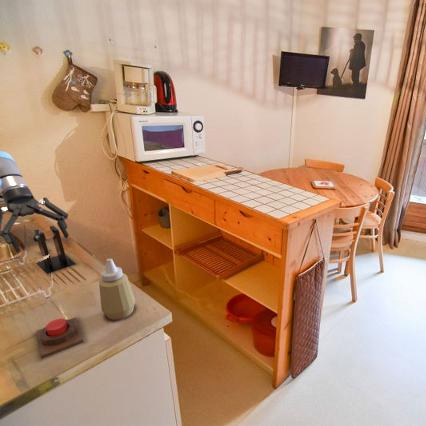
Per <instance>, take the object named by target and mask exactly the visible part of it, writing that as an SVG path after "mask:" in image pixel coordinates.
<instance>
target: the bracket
mask: <svg viewBox="0 0 426 426" xmlns="http://www.w3.org/2000/svg"><path fill="white" fill-rule="evenodd" d="M49 230H52V232H53V235H54V237H53V238H52V240H53V243H54V247H55V251H56V254H57V255H56V256H53V257H51V256H49V258H47V259H45V260H43V259H42V260H40V261H41V262H40V261H37V262H38V263H37V262H35V264H36V265H37V266H38V267H39V268H40V269H41V270H42V271H43V272H44V273H45V274H46V275H49V274H52V273H55V272H58V271H60V270H63V269H66V268H67V269H68V268H69V267H72V266H75V265H77V263H76V262H74V261H73V260H72V259H71V258H70V257H69V256H67V255H66V252H65V248H64V244H63V241H62V238H61V233H60V229H58V228H57V227H56V226H54V225H50V226H49ZM33 231H34V235H36V236H35V237H36V240H37V241H38V243H37V244H38V247H39V248H38V249H39V250H40V251H39V252H40V255H41V257H42V256H46V255H48V254H49V255H50V252H49V249H48V245H47V241H45V238H44V235H43V233H42V231H41V230H39V229H35V230H33Z"/></svg>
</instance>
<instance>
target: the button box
mask: <svg viewBox="0 0 426 426" xmlns="http://www.w3.org/2000/svg"><path fill="white" fill-rule="evenodd" d="M65 320H66V321H67V324H68V330H67V331H65V332H64V333H62V334H60V335H57V336H49V335H48V334H47V331H46V326H45V327H43V328H41V329H38V330H36V335H37V336H36V337H37V341H38V348H39V353H40V358H41V359H44V358H48V357H50V356H52V355H54V354H57V353H60V352H62V351H65V350H67V349H69V348H72V347H75V346H77V345H80V344H82V343H84V339H83V335H82V331H81V330H80V326H79V322H78V320H77V317H76V316H75V317H72V318H70V319H69V318H68V319H65Z"/></svg>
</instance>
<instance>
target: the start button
mask: <svg viewBox="0 0 426 426" xmlns="http://www.w3.org/2000/svg"><path fill="white" fill-rule="evenodd" d="M66 320H67V319H65V318H56V319H54V320H51V321H50V322H48V323H46V325H45V327H46V331H47V334H48V335H49V336H57V335H60V334H62V333H64V332H65V331H67V330H68V324H67V321H66Z"/></svg>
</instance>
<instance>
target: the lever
mask: <svg viewBox="0 0 426 426" xmlns="http://www.w3.org/2000/svg"><path fill="white" fill-rule="evenodd" d="M41 232H42V231H41ZM42 233H43V235H44V238H45V242H47V240H49V239H53V237H54V235H53V232H52V230H50V229H49V230H45V231H43V232H42ZM35 236H36V235H35V234H34V235H33V237H32V239H33V241H34V242H35V243H37V244H38V241H37V240H36V237H35Z"/></svg>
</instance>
